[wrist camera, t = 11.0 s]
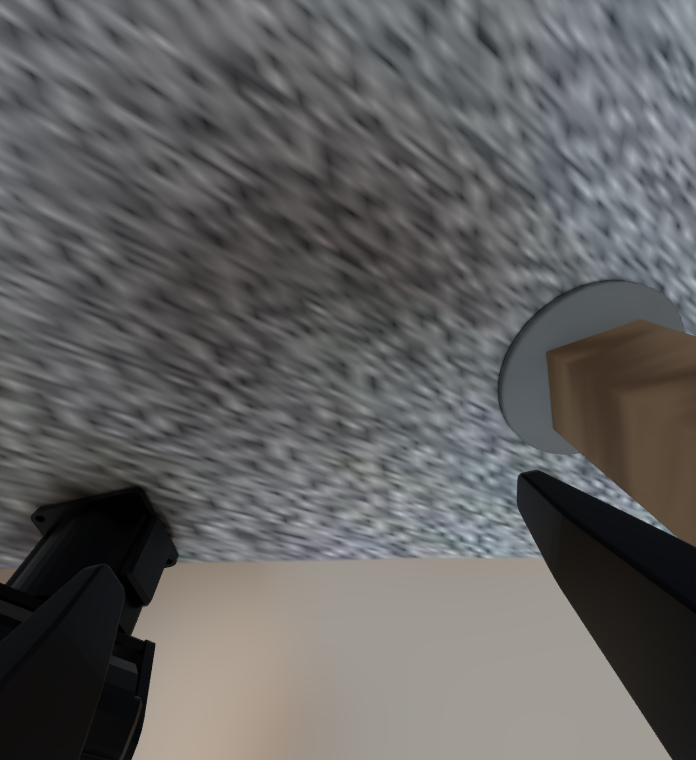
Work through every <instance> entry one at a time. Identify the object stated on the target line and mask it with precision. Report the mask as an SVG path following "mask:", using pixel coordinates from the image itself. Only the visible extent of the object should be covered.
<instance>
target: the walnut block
mask: <svg viewBox="0 0 696 760" xmlns="http://www.w3.org/2000/svg"><path fill="white" fill-rule="evenodd" d="M546 358H547V369H548V380H549V391H550V402H551V413H552V424H553V430H555V431H556V432H557V433H558V434H559V435H560V436H561V437H563V438H564V439H565V440H566V441H567V442H568V443H569V444H571V445H572V446H573V447H574V448H575V449H576V450H578V451H579V452H580V453H581V454H582V455H583V456H584V457H586V458H587V459H588V460H589V461H590V462H591V463H593V464H594V465H595V466H596V467H597V468H598V469H599V470H601V471H602V472H603V473H604V474H605V475H606V476H608V477H609V478H610V479H611V480H612V481H613V482H614V483H616V484H617V485H618V486H619V487H620V488H621V489H622V490H624V491H625V492H626V493H627V494H628V495H629V496H631V497H632V498H633V499H634V500H635V501H636V502H637V503H639V504H640V505H641V506H642V507H643V508H644V509H646V510H647V511H648V512H649V513H650V514H651V515H652V516H654V517H655V518H656V519H657V520H658V521H659V522H660V523H662V524H663V525H664V526H665V527H666V528H667V529H669V530H670V531H671V532H672V533H673V534H674V535H675V536H677V537H678V538H679V539H681V540H683V541H685V542H687V543H689V544H691V545H693V546H695V547H696V337H695V336H692V335H689V334H686V333H683V332H680V331H677V330H673V329H670V328H667V327H664V326H661V325H658V324H655V323H651V322H648V321H645V320H642V319H639V320H637V321H634V322H631V323H628V324H625V325H622V326H619V327H616V328H613V329H610V330H608V331H605V332H602V333H599V334H596V335H593V336H590V337H587V338H584V339H581V340H579V341H576V342H573V343H570V344H567V345H564V346H561V347H558V348H555V349H552V350H549V351H547V352H546Z"/></svg>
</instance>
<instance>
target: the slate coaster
mask: <svg viewBox="0 0 696 760" xmlns="http://www.w3.org/2000/svg"><path fill="white" fill-rule="evenodd" d="M639 319H642V320H645V321H648V322H651V323H655V324H658V325H661V326H664V327H667V328H670V329H673V330H677V331H680V332H683V333H684V326H683V322H682V319H681V316H680V314H679V312H678V310H677V308H676V307H675V306H674V304H673V303H672V302H671V301H670V300H669V299H668V298H667V297H666V296H665V295H664V294H662V293H661V292H659V291H657V290H655V289H653V288H650V287H648V286H645V285H641V284H636V283H632V282H626V281H600V282H594V283H591V284H587V285H583V286H581V287H578V288H576V289H573V290H571V291H569V292H567V293H565V294H563V295H561V296H559V297H558V298H556V299H555V300H553V301H552V302H550V303H549V304H547V305H546V306H545V307H544V308H542V309H541V310H540V311H539V312H538V313H536V314H535V315H534V316H533V317H532V318H531V320H530V321H529V322H528V323H527V324H526V325H525V326H524V327H523V329H522V330H521V331H520V332H519V334H518V335H517V337H516V338H515V340H514V341H513V343H512V345H511V346H510V348H509V350H508V352H507V355H506V357H505V359H504V362H503V365H502V368H501V372H500V377H499V384H498V397H499V404H500V408H501V411H502V414H503V416H504V419H505V420H506V422H507V423H508V425H509V426H510V427H511V428H512V430H513V431H514V432H515V433H516V434H517V435H518V436H519V437H520V438H521V439H522V440H523V441H525V442H526V443H527V444H528V445H530V446H532V447H534V448H536V449H538V450H541V451H544V452H548V453H553V454H576V453H580V452H579V451H578V450H576V449H575V448H574V447H573V446H572V445H571V444H569V443H568V442H567V441H566V440H565V439H564V438H563V437H561V436H560V435H559V434H558V433H557V432H556V431H555V430H553V424H552V413H551V402H550V391H549V380H548V369H547V358H546V352H547V351H549V350H552V349H555V348H558V347H561V346H564V345H567V344H570V343H573V342H576V341H579V340H581V339H584V338H587V337H590V336H593V335H596V334H599V333H602V332H605V331H608V330H610V329H613V328H616V327H619V326H622V325H625V324H628V323H631V322H634V321H637V320H639Z"/></svg>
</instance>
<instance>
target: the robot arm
mask: <svg viewBox="0 0 696 760" xmlns="http://www.w3.org/2000/svg"><path fill="white" fill-rule="evenodd" d="M133 496H136V497H137V498H135V497H133ZM517 506H518V509H519V512H520V514H521V516H522V518H523V520H524V521H525V523H526V525H527V527H528V529H529V531H530V533H531V535H532V537H533V539H534V541H535V543H536V544H537V546H538V548H539V550H540V552H541V554H542V556H543V558H544V560H545V562H546V564H547V565H548V568H549V569H550V571H551V573H552V575H553V577H554V578H555V580H556V582H557V583H558V585H559V587H560V588H561V590H562V591H563V593H564V594H565V596H566V597H567V599H568V601H569V602H570V604H571V605H572V607H573V608H574V610H575V611H576V612H577V614H578V616H579V617H580V619H581V621H582V622H583V623H584V625H585V627H586V628H587V630H588V631H589V633H590V634H591V636H592V637H593V639H594V640H595V642H596V644H597V645H598V647H599V648H600V650H601V651H602V653H603V654H604V656H605V657H606V659H607V660H608V662H609V663H610V665H611V666H612V668H613V670H614V671H615V672H616V674H617V676H618V677H619V678H620V680H621V682H622V683H623V685H624V686H625V688H626V689H627V691H628V693H629V694H630V696H631V697H632V699H633V700H634V701H635V703H636V705H637V706H638V708H639V709H640V711H641V712H642V714H643V715H644V717H645V719H646V720H647V722H648V723H649V725H650V726H651V728H652V729H653V731H654V732H655V734H656V735H657V737H658V738H659V740H660V742H661V743H662V745H663V746H664V748H665V749H666V751H667V752H668V754H669V755H670V757H671V758H672V760H696V547H695V546H693V545H691V544H689V543H687V542H685V541H683V540H681V539H679V538H677V537H675V536H673V535H670V534H668V533H666V532H664V531H662V530H660V529H658V528H656V527H654V526H652V525H650V524H648V523H646V522H644V521H642V520H640V519H638V518H636V517H634V516H632V515H630V514H628V513H626V512H623V511H621V510H619V509H617V508H615V507H613V506H611V505H609V504H607V503H605V502H603V501H601V500H599V499H597V498H595V497H593V496H591V495H589V494H587V493H585V492H583V491H581V490H579V489H576V488H574V487H572V486H570V485H568V484H566V483H564V482H562V481H560V480H558V479H556V478H554V477H552V476H550V475H548V474H546V473H544V472H542V471H539V470H533V471H528V472H523V473H521V474H519V476H518V479H517ZM31 520H32V522H33V523H34V524H35V526H36V527H37V528H38V530H39V531H40V532H41V534H42V535H43V537H42V539H41V540H40V541H39V543H38V544H37V545H36V546H35V548H34V549H33V550H32V551H31V553H30V554H29V555H28V556H27V558H26V559H25V560H24V561H23V563H22V564H21V565H20V566H19V568H18V569H17V570H16V572H15V573H14V574H13V575H12V577H11V578H10V579H9V580H8V582H7V583H6V584H2V583H0V760H131V759H132V757H133V754H134V752H135V749H136V747H137V744H138V741H139V737H140V734H141V731H142V727H143V722H144V717H145V710H146V704H147V697H148V690H149V684H150V677H151V671H152V664H153V658H154V651H155V643H154V642H151V641H149V640H145V641H143V640H140V639H138V638H135V637H133V636H131V634H132V632H133V630H134V627H135V624H136V622H137V620H138V617H139V615H140V612H141V609H142V607H144V606H148V605H149V603H150V602H151V600H152V598H153V595H154V593H155V590H156V588H157V585H158V583H159V580H160V577H161V575H162V572H163V570H164V568H167V567H171V566H174V565H175V564H176V562H177V559H178V554H177V553H176V551H175V549H174V547H173V543H172V541H171V539H170V538H169V536H168V534H167V532H166V530H165V528H164V526H163V525H162V523H161V521H160V519H159V518H158V517H157V516H156V514H155V512H154V510H153V508H152V506H151V504H150V503H149V501H148V499H147V497H146V495H145V493H144V492H143V491H142V490H141V489H139V488H130V489H125V490H121V491H116V492H111V493H107V494H102V495H97V496H93V497H88V498H83V499H79V500H74V501H69V502H64V503H60V504H55V505H50V506H46V507H41V508H38V509H37V510H36V511H35V512H34V513H33V514H32V515H31Z"/></svg>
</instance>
